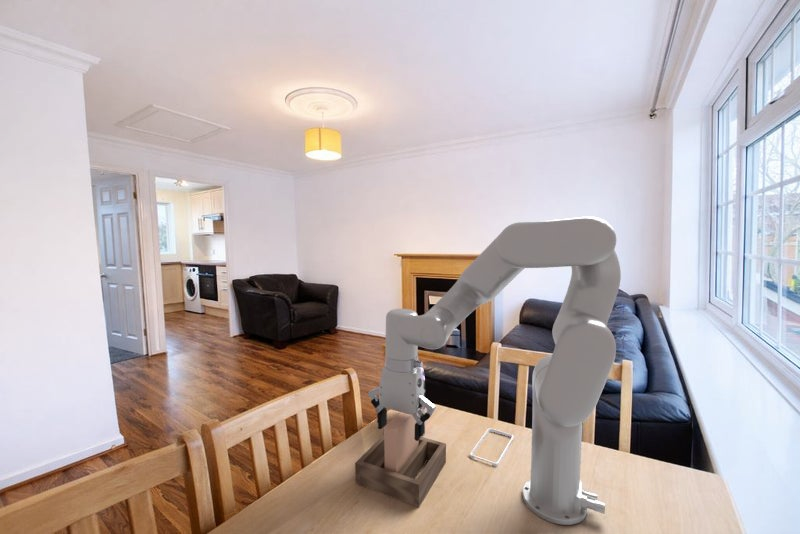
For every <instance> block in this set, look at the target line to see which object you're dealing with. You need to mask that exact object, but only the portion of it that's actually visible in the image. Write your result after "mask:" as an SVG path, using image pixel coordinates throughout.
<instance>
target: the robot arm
mask: <svg viewBox="0 0 800 534" xmlns="http://www.w3.org/2000/svg"><path fill="white" fill-rule="evenodd" d="M616 245H617V235H616V231H615V230H614V228H613V227H612V225H611V224H609V222H608V221H606V220H605V219H602V218H599V217H595V216H582V217H581V216H580V217H572V218H570V217H569V218H564V219H563V218H561V219H552V220H551V219H550V220H541V221H540V220H538V221H521V222H519V221H518V222H514V223H511V224H508V226H506V227H505V228H504V229H502V231H501V232H500V233H499V234H498V236H497V237H495V238H494V240H492V242H491V243H489V245H488V246H487V247H486V248H485V249H484V250H483V251H482V252H481V253H480V254H479V255H478V256H477V257H476V258H475V259H474V260H473V261H472V262H471V263H470V264H469V265H468V266H467V267H466V268H465V269H464V271H463V272H461V274H460V275H459V277H458V279H457V280H456V281H455V283H454V284H453V285H452V287H451V288H449V290H447V292H446V293H445V294H444V295H443V296H442V297H441V298H440V299H439V300H438V301H437V302H436V303H435V304H434V305H433V306H432V307H431V308H429V310H428V311H426V312H425V313H424V314H421V315H418V312H416V311H415V310H413V309H409V308H394V309H391V310H388V312H387V313H386V315H385V347H384V348H385V354H384V355H385V356H384V357H385V360H384V363H385V364H384V365H383V367H382V369H381V374H380V380H379V386H377V387H375V388H373V389H370V390H369V391H368V392H367V395H368V396H369V399H370V403H371V404H372V406H373V407H374V412H375V413H376V415H377V419H376V420H377V421H376V423H377V429H378V430H382V429H384V428H385V427H386V426H387V425H388V410H392V411H395V412H399V413H400V412H402V413H406V414H410V415H413V417H414V419H415V420H416V422H417V423H416V424H415V438H414V439H415V440H416V441H418V440H419V439H420V437H423V436H424V435H423V434H424V422H426V421H428V420H429V419H430V418H431V417H432V415H433V413H434V412H435V410H436V408H437V406H436V405H435V404H434V403H432V402H431V401H430V400H429V399H428V398H426V396H425V397H424V388H423V379H422V373H421V369H420V368H418V367H422V366H423V367H424V363H423V361H422V360H421V361H420V360H419V355H418V354H419V350H418V348H419V347H420V348H424V349H427V350H437V349H440V348H442V347H444V346H445V345H446V343H447V342H448V340H450V339H449V338H450V337H451V335H452V333H453V331H455V330H456V328H457V327H459V325H460V324H462V322H463V321H465V320H466V318H468V316H470V315H471V314H472V313H473V312H474V311H475V310H476V309H478V308H479V307H480V306H482V305H484V304H487V303H489V302H491V301H492V300H494V299H495V298H496V297H497V296H498V295H499V294H500V293H502V291H503V290H504V289H505V288H506V287H507V286H508V285H509V284H510V283H512V281H513V280H514V279H515V278H516V277H517V276H519V274H520V273H521V272H523V270H525V269H546V268H548V269H549V268H561V267H571V276H570V281H569V285H568V287H567V291H566V294H565V296H564V299H563V302H562V304H561V307H560V309H559V312H558V314H557V317H556V318H555V321H554V323H553V326H552V330H551V332H552V338H553V341H554V344H555V345H554V349H553V352H552V353H551V354H547V355H545V356H543V357H541V358H540V359H539V360H538V361H537V362H536V364H535V365H534V369H533V371H532V376H531V377H532V381H531V382H532V386H531V387H532V388H531V389H532V421H531V422H532V423H531V453H530V458H531V459H530V479H529V480H527V481H526V482H525V483H524V485H523V486H522V498H523V502H524V504H525V505H526V506H527V507H528V509H529V510H530V511H531V512H532V513H534V514H535V515H537V516H538V517H539V518H541V519H543V520H545V521H546V522H549V523H553V524H557V525H562V526H563V525H564V526H570V525H576V524H579V523H581V522H582V521H584V520H585V519H586V516H587V513H588V509H589V510H592V511H594V512H597V513H600V514H605V513H606V512H605V511H606V509H605V508H606V506H605V505H606V503H605V502H603V501H600V500H598V494H597V493H595V492H591V491H590V492H589V491H586V490H585V488H582V481H581V463H582V461H581V459H582V440H583V423H584V422H586V420H588V418H589V417H591V415H592V414H593V412H594V411H595V408H596V406H597V404H598V402H599V399H600V397H601V395H602V392H603V390H604V388H605V385H606V383H607V381H608V378H609V376H610V373H611V371H612V368H613V366H614V362H615V360H616V354H617V344H616V339H615V337H614V335H613V333H612V331H611V330H610V328H609V327H608V322H609V319H610V316H611V313H612V311H613V308H614V307H615V306H614V305H615V302H616V299H617V297H618V294H619V289H620V285H621V265H620V262H619V257H618V255H617V253H616V251H615V248H616ZM377 395H378V396H377ZM423 406H424V407H425V409H426V412H425V413H424V412H423V410H422V409H421V408H422V407H423ZM387 409H388V410H387Z"/></svg>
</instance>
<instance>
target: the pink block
mask: <svg viewBox="0 0 800 534" xmlns="http://www.w3.org/2000/svg"><path fill="white" fill-rule="evenodd" d="M416 423H417V422H416V420H415V419H414V417H413V415H410V414H406V413H402V412H399V413H397V415H396V416H395V417H394V418H393V419H392V420H391V421H390V422H389V423H387V424H386V425H385V426H384V427H383V434H384V454H385V469H386V470H389V471H392V472H395V473H398V472H399V471H400V469H401V468H402V467H403V466H404V464H405V463H406V462H407V460H408V459H409V458H410V456H411V455H412V454H413V453H414V451H415V450H416V449H417V447H418V446H419V440H418V441H416V440H415V439H414V438H415V424H416Z"/></svg>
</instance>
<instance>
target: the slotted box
mask: <svg viewBox="0 0 800 534" xmlns="http://www.w3.org/2000/svg"><path fill="white" fill-rule="evenodd" d="M427 461H428V462H427ZM354 464H355V465H354V472H355V473H354V474H355V485H356V484H357V485H359V486H362V487H365V488H367V489H369V490H372V491H374V492H377V493H380V494H383V495H386V496H388V497H391V498H392V499H396V500H399V501H402V502H404V503H407V504H409V505H412V506H415V507H417V508H420V506H421V505H422V503H423V502H424V500H425V498H426V496H427V495H428V493H429V492H430V491H431V489H432V487H433V485H434V483H435V481H436V480H437V479H438V476H439V475H440V473H441V471H443V468H444V467H445V465H446V464H447V443H444V442H442V441H438V440H434V439H430V438H427V437H423V436H421V437H420V439H419V446H418V447H417V449H416V450H415V451H414V453H413V454H412V455H411V456H410V458H409V459H408V460H407V462H406V463H405V464H404V466H403V467H402V468H401V469H400V471H399V472H398V473H395V472H392V471H389V470H386V469H385V454H384V433H383V434H382V435H381V436H380V437H379V438H378V439H377V440H376V442H375V441H374V443H373V445H371V446H370V447H369V448H368V449H367V451H365V452H364V453H363V454H362V456H361V457H359V458H358V459H357V461H356V462H355V463H354ZM425 464H426V465H425ZM416 477H417V478H416Z"/></svg>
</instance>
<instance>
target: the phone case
mask: <svg viewBox="0 0 800 534" xmlns="http://www.w3.org/2000/svg"><path fill="white" fill-rule="evenodd" d="M490 432H491V433H494V432H495V434H498V435H501V434H502V436H504V435H505V437H508V436H509V437H508V438H510V440H509V442H508V443H507V445H506V446H505V448H504V450H503V452H502V453H501V454H500V457H499V458H498V460H497V461H496V462H495V461H491V460H489V459H486V458H483V457H480V456H477V455H475V454H474V453H475V451H476V450H477V449H478V448H479V446H480V445H481V443H482V442H483V440H484V439H485V438H486V436H487V435H488V434H489V433H490ZM514 439H515V438H514V435H513V434H511V433H509V432H505V431H502V430H498V429H495V428H491V427H489V428H487V429H486V431H485V432H484V434H482V436H481V438H480V439H479V440H478V442H477V443H476V444H475V445H474V447H473V449H472V450H471V451H470V453H469V457H470V459H472V460H475V458H476V459H478V460H481V461H485V462H487V463H490V464H491V466H493V467H498V466H499V465H500V463H501V462H502V461H503V459H504V456H505V455H506V453H507V452H508V450H509V447H510V445H511V443H512V442H513V441H514Z"/></svg>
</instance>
